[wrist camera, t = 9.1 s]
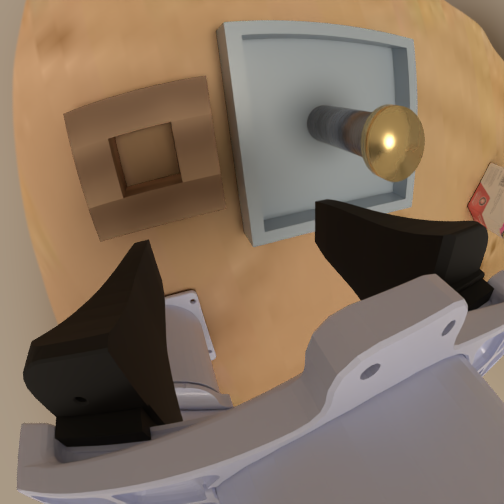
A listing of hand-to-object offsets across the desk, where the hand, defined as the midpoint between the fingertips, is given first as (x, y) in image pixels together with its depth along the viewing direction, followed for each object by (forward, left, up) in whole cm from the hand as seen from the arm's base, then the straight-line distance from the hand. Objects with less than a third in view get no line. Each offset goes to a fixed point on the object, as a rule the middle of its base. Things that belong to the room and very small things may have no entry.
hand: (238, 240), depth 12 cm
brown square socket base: (+3, +4, -10) cm, 11 cm away
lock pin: (+3, -10, -10) cm, 14 cm away
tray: (+3, -10, -10) cm, 15 cm away
